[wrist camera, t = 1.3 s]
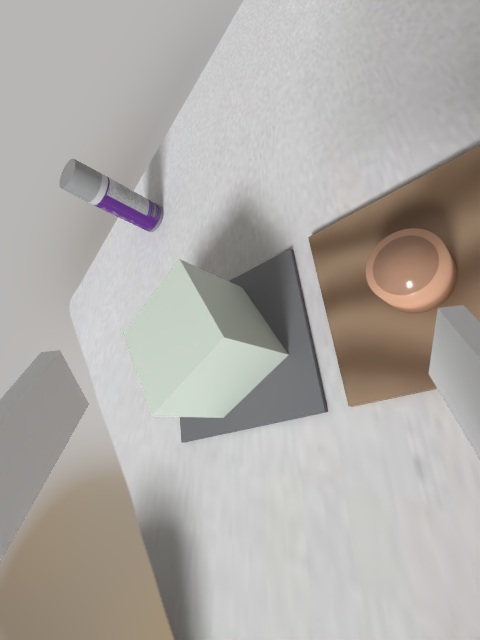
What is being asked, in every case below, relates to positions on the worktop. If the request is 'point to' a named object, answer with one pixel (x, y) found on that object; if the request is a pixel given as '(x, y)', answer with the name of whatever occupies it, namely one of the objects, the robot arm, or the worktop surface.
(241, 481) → the worktop surface
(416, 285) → the bowl
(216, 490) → the worktop surface
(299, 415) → the mat
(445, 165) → the board
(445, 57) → the worktop surface
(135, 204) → the container
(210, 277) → the pale mint green cube
